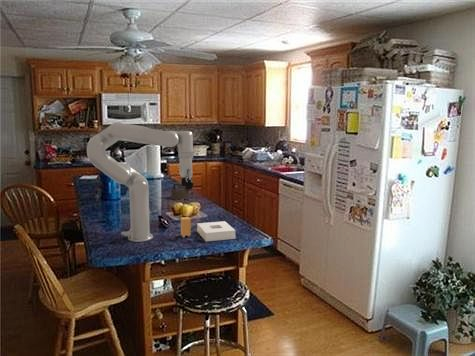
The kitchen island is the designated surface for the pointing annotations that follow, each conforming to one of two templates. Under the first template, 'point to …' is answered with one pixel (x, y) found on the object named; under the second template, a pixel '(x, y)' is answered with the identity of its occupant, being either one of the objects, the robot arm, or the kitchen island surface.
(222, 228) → the socket block
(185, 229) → the plug
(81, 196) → the kitchen island surface
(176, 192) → the clothes iron
